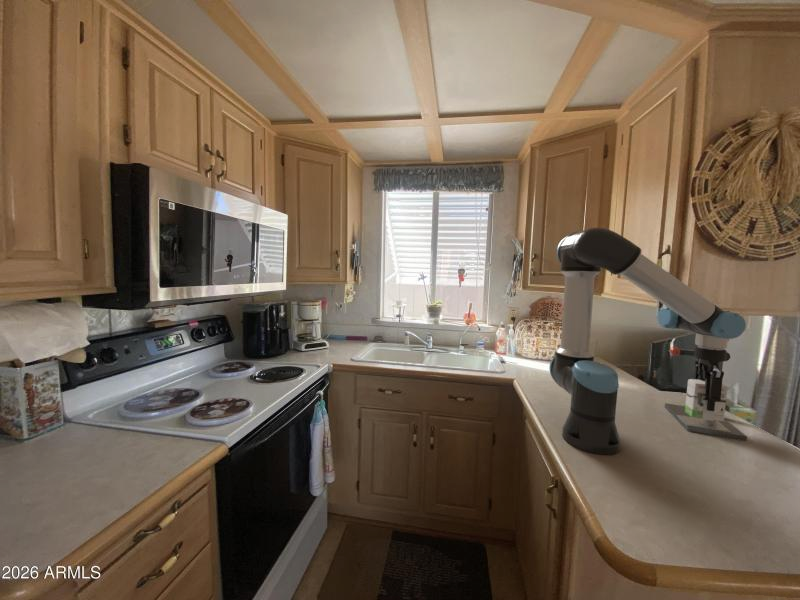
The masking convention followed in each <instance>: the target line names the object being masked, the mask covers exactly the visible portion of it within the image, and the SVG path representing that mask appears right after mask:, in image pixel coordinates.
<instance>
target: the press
mask: <svg viewBox="0 0 800 600" xmlns="http://www.w3.org/2000/svg"><path fill="white" fill-rule="evenodd" d="M718 364H719V371H723V367H724V366H723V365H724V361H723V362H719V363H718ZM664 408H665V409H666V411H668V412H669V414H671V415H672V417H674V418H675V420H676V421H677V422H678V424H680V425H681V426H682V427H683V429H685V430H686V431H687V432H691V433H692V432H693V433H697V434H704V435H709V436H715V437H719V438H720V437H721V438H728V439H732V440H739V441H745V442H746V441H747V438H748V436H747V435H746V434H745V433H743V432H742V431H741V430H739V429H738V428H736V426H734V425H733V424H732V423H730V421H728V420H726V419H725V418H724V421H717V420H714V421H712V420H706V419H702V418H695V417H691V416H690V415H689V414H687V413H686V412H685V405H679V404H673V403H668V402H667V403H664Z"/></svg>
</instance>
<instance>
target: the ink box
mask: <svg viewBox="0 0 800 600" xmlns="http://www.w3.org/2000/svg"><path fill="white" fill-rule="evenodd" d="M686 388H687V389H686V396H685V397H686V398H685V405H684V406H685V412H686V413H687V414H689V415H690V416H691V417H695V418H702V412H703V402H704V400H703V398H706V391H705V388H706V384H705V380H697V379H694V378H689V379H688V380H687V386H686ZM727 396H728V386H726V385H725V384H723V383H722V389H721V400H720V402H718V401H717V402H716V404H715V414H714V420H717V421H724V419H725V412H726V404H727Z"/></svg>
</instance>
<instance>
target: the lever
mask: <svg viewBox="0 0 800 600" xmlns="http://www.w3.org/2000/svg"><path fill="white" fill-rule="evenodd" d="M694 351H695V349H683V348H679V347H677V346H672V347H670V349H669V353H670V355H671V356H675V357H677V356H687V357H688V356H690V357H691V356H692V357H695V356H694ZM730 359H731V354H730V353H729V352H727V353H726V360H725V361H724V362H728V361H730Z"/></svg>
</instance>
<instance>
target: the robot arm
mask: <svg viewBox="0 0 800 600" xmlns="http://www.w3.org/2000/svg"><path fill="white" fill-rule="evenodd" d="M642 250H643V249H642V248H641V247H640V246H638V245H637V244H635V243H633V241H631V240H629V239H627V237H625V236H623V235H621V234H619V233H617V232H615V231H613V230H611V229H608V228H605V227H591V228H587V229H585V230H580V231H575V232H572V233H570V234H568V235H567V236H565V237H564V238H562V239H561V240H560V242H559V243H558V245H557V249H556V257H557V260H558V261H559V263H560V273H561V274H562V275H563V276H564V289H563V291H564V292H563V303H562V304H563V307H562V318H561V319H562V320H561V321H562V322H561V323H562V324H561V333H560V334H561V335H560V337H561V338H560V346H559V347H557V348H556V349H555V354H554V357H553V358H552V359H551V360H550V363H549V366H548V367H549V373H550V374H549V375H550V376H551V379H552V380H553V381H554V383H556V385H558V386H559V387H560V388H562V389H563V390H564V391H566V392H567V393H568V394H569V395H570V407H569V408H570V409H569V410H570V411H569V412H568V413H569V414H568V415H567V417H566V420H565V422H564V424H563V426H562V431H561V432H562V433H561V435H562V437H563V440H565V441H566V442H567V443H568V444H570V445H571V446H573V447H575V448H577V449H579V450H582V451H585V452H588V453H591V454H597V455H614V454H615V455H616V454H618V453H619V452H620V451H621V438H620V435H619V431H618V429H617V423H616V409H617V401H618V388H619V375H618V372H617V371H616V370H615V369H614V368H613V367H612V366H609V365H607V364H605V363H600V362H599V361H595V354H594V353H593V352H592V350H591V349H590V344H591V343H590V341H591V329H592V318H593V301H594V291H595V278H596V277H597V276H598V275H600V274H601V269H603V270H606V271H607V272H609V273H610V274H612V275H614V276H618V275H620V276H621V277H622V278H624V279H626V280H627V281H629V282H630V283H632V284H633V285H635V286H636V287H638V288H639V289H640V290H642V291H644V293H646V294H648V295H649V296H650V297H652V298H653V299H655V300H657V301H658V302H659V303H661V304H662V305H664V306H661V307H660V308H659V310H660V311H659V310H658V311H659V312H658V311H657V317H656V320H657V323H658V325H659V326H661V328H664V329H671V330H674V329H675V330H683V331H688V332H691V333H692V332H694V333H695V341H694V344H695V345H696V346H695V347H694V350H695V351H694V356H693V357H694V358H697V359H699V360H695V361H694V373H693V379H697V380H705V384H706V388H705V391H706V398H703V400H704V402H703V412H702V419H706V420H712V421H714V414H715V404H716V402H717V401H718V402H720V400H721V389H722V384H723V378H724V375H725V371H723V370H722V371H719V364H718V363H719V362H723V363H724V362H726V361H725V360H726V353H727V350H726V349H727V348H728V342H730V340H733V339H736V338H738V337H740V336H742V334H743V333H744V332H745V331H746V328H747V322H746V320H745V318H744V316H743V315H741V314H739V313H736V312H734V311H731V312H730V311H723V310H722V309H720V308H719V307H717V306H716V305H714V304H713V303H711V302H710V301H708V300H709V299H707V298H706V297H704V296H703V295H702V294H700V293H698V292H697V291H696V290H695V289H693V288H691V287H689V286H688V285H687V284H685V283H684V282H682V281H681V280H680V279H678V278H677V277H675V276H674V275H673V274H671V273H670V272H668V271H667V270H665V269H664V268H662V266H659V264H657V263H656V262H653V261H652V260H651V259H650V258H648V257H647V256H645V255H644V254H642Z"/></svg>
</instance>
